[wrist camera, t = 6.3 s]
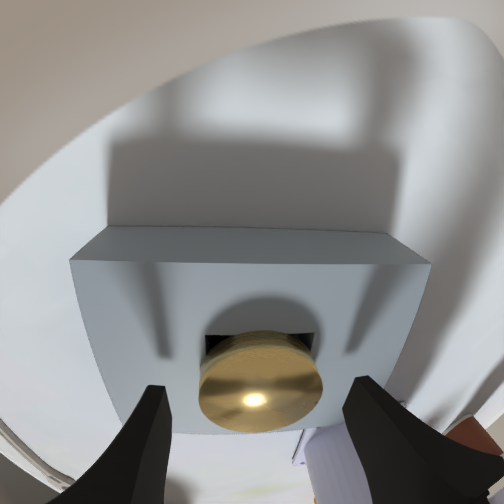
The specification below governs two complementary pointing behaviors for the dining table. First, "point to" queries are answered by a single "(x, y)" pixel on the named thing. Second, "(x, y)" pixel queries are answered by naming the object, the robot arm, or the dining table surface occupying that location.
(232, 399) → the brass door knob
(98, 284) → the block
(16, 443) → the adjustable wrench
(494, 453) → the coffee cup
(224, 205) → the dining table surface
